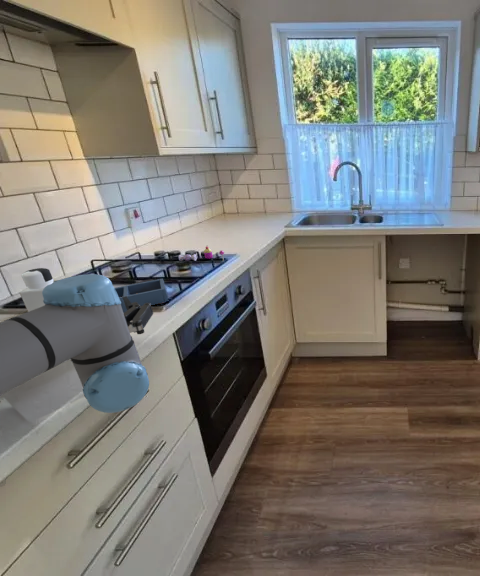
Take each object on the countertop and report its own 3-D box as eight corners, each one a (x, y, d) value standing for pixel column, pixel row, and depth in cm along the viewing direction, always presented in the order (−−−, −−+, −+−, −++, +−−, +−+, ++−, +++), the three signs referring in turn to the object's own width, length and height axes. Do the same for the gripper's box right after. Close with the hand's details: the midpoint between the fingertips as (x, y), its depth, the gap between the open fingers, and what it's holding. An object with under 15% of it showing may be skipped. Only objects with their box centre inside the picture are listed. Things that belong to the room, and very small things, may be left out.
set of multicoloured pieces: (177, 264, 142) (173, 249, 139) (185, 258, 149) (181, 244, 146) (225, 261, 144) (222, 246, 141) (230, 255, 151) (227, 241, 149)
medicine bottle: (45, 304, 110) (29, 267, 106) (71, 301, 111) (56, 265, 107) (28, 314, 104) (10, 275, 99) (56, 312, 105) (40, 273, 100)
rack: (87, 321, 99) (81, 306, 97) (90, 307, 107) (84, 293, 105) (169, 302, 109) (165, 288, 107) (166, 291, 117) (162, 278, 115)
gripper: (13, 404, 55) (15, 350, 70) (187, 342, 71) (159, 309, 85) (-9, 363, 52) (-2, 316, 67) (177, 307, 68) (150, 279, 82)
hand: (88, 312), depth 76 cm, fingers open, 13 cm apart
